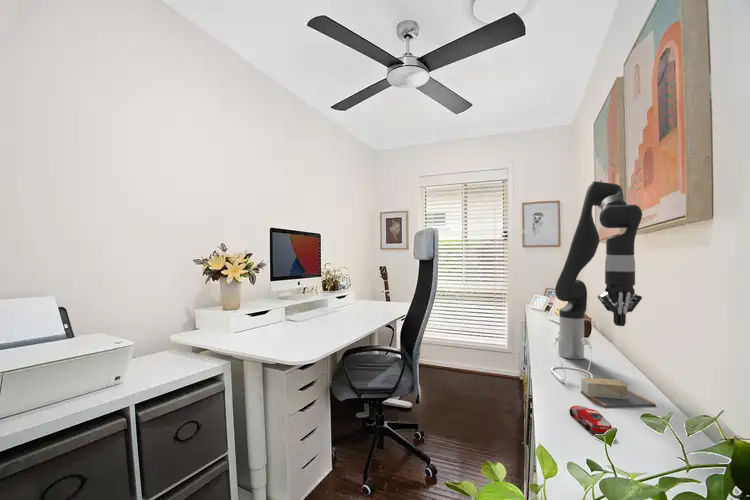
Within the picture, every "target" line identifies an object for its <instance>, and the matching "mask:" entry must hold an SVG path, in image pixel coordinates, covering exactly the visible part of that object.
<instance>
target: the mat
mask: <svg viewBox="0 0 750 500" xmlns="http://www.w3.org/2000/svg"><path fill="white" fill-rule="evenodd" d="M580 393H581V394H582V395H583V396H585V397H586V398H588V399H589V400H592V401H593V402H594V403H596V404H598V405H599V406H601V407H603V408H629V407H631V408H632V407H633V408H635V407H638V408H639V407H656V403H655V402H653V401H651V400H649V399H647V398H645V397H644V396H642V395H640V394H638V393H636V392H634V391H632V390H630V389H627V400H626V399H614V398H601V397H589V396H587V395H586V394H585V393H584V392H583V391H582V390H580Z"/></svg>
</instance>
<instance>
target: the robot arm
mask: <svg viewBox="0 0 750 500" xmlns="http://www.w3.org/2000/svg"><path fill="white" fill-rule="evenodd" d="M584 196H585V197H584V201H583V205H582V208H581V212H580V217H579V220H578V223H577V226H576V228H575V231H574V234H573V238H572V241H571V243H570V247H569V251H568V254H567V257H566V260H565V263H564V265H563V268H562V270H561V273H560V275H559V277H558V278H557V282H556V284H555V289H554V293H555V296H556V298H557V299H558V300H559V301H561V302H567V304H566V305H564V306H563V307H562V308H560V309H559V314H558V315H559V331H558V336H559V335H561V336H562V338H563V339H562V340H561V342H557V343H558V349H557V352H558V355H559V357H562V358H565V359H570V360H584V359H585V345H583V344H582V341H581V339H582V338H585V313H586V312H587V303H588V302H587V301H588V289H587V286H586V284H585V282H584V281H583V280H581V279H577V278H578V276H579V274H580V272H581V271H582V270H583V269H584V268H585V267H586V266H587V265H588V264H589V263H590V262H591V261H592V260H593V259H594V257H595V255H596V252H597V250H598V247H599V244H600V235H599V232H598V229H597V227H596V224H595V221H594V218H593V206H595V207H596V206H597V207H600V214H599V223H600V225H601V226H602V227H604V228H607V229H625V228H626V229H625V231H624V232H623V233H621V234H617V235H612V236H609V237H607V238H606V242H605V243H606V244H605V246H606V247H605V252H606V253H605V261H604V263H605V264H604V284H605V286H606V287H605V288H604V292H603V294H599V295H597V299H598V300H599V301H600V302H601V304H602V305H603V306H604V308H605V309H606V310H607V311H608V312H610V313H611V312H612V313H613V324H614V326H617V327H625V325H626V323H627V321H626V320H627V313H632V312H633V311H634V310H635V308H636V307H637V306H638V304H639V303H640V301H641V300H642V298H643V297H642V296H641V295H638V294H637V293H636V292H635V291H636V290H635V288H634V286H636V260H635V239H636V235H637V233H638V229H639V227H640V223H641V221H642V217H643V211H642V209H641V208H640V206H638V205H636V204H628V203H627V202H626V201H625V200H624V194H623V189H622V187H621V186H620V185H619V184H617V183H613V182H612V183H610V182H604V181H596V180H595V181H594V180H593V181H592V182H591V183H589V185H588V187H587V189H586V193H585V195H584Z"/></svg>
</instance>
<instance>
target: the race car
mask: <svg viewBox="0 0 750 500" xmlns="http://www.w3.org/2000/svg"><path fill="white" fill-rule="evenodd" d="M568 411H569V415H570V416H571V417H572V418H574V419H575V420H576V421H577V422H578V423H579V424H581V425H582V427H584V428H585V429H586V431H588V432H589V431H590V432H589V433H591V434H593V435H596V434H604V433H605V432H606V431H607V430H609V429H611V428H612V429H613V426H612V424H611V423H610V422H609V421H608V420H607V419H606V418H605V417H604V416H603V415H602V414H601V413H600V412H599V411H598V410H595V409H593V408H589V407H586V406H583V405H572V406H570V407H569V410H568Z"/></svg>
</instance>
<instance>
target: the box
mask: <svg viewBox="0 0 750 500" xmlns="http://www.w3.org/2000/svg"><path fill="white" fill-rule="evenodd" d="M580 381H581V382H580V383H581V386H580V388H581V389H580V391H583V392H584V393H585V394H586V395H587V396H589V397H601V398H614V399H626V400H627V390H628V385H627V384H625V383H624V382H623V381H621V380H619V379H609V378H594V377H593V378H591V377H588V378H586V377H582V376H581V380H580ZM587 396H586V397H587Z"/></svg>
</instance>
